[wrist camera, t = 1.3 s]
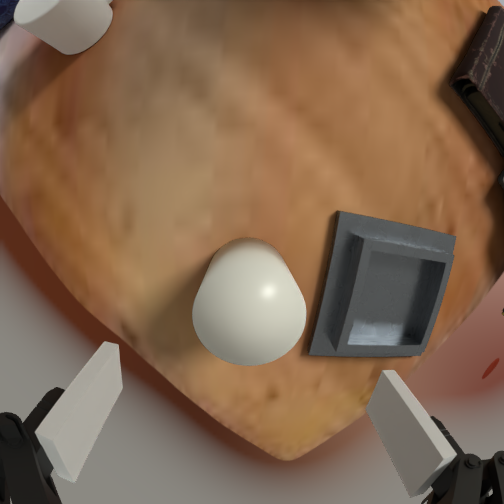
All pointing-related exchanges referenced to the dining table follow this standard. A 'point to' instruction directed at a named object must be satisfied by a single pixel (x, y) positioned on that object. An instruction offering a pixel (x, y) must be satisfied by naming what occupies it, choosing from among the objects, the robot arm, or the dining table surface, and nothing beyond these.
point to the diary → (485, 76)
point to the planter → (7, 11)
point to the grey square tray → (380, 288)
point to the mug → (65, 22)
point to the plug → (248, 304)
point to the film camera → (503, 182)
